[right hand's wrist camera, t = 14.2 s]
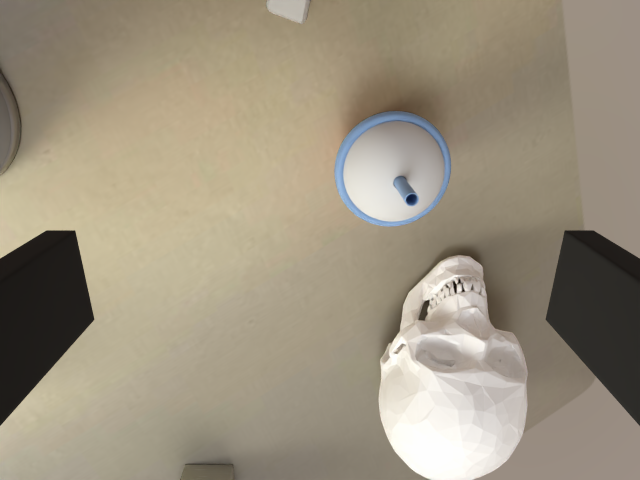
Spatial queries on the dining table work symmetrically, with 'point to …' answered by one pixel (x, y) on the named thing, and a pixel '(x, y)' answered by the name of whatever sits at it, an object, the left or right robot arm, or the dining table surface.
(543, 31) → the dining table surface
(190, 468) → the grey block
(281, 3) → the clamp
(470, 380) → the skull
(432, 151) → the cup with straw
